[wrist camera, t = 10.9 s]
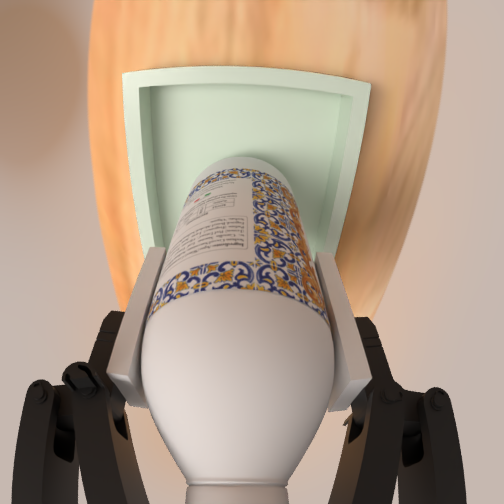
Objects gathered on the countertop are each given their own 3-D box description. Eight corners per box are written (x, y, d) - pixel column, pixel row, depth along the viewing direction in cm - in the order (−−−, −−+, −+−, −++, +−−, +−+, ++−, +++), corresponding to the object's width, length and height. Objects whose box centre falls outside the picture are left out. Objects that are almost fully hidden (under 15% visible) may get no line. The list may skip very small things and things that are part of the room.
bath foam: (288, 245, 22) (330, 557, 6) (193, 244, 21) (149, 555, 6) (297, 155, 17) (421, 581, 2) (185, 154, 17) (55, 574, 1)
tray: (139, 70, 15) (122, 73, 13) (353, 79, 16) (371, 83, 14) (161, 279, 26) (154, 303, 24) (313, 283, 27) (319, 308, 24)
